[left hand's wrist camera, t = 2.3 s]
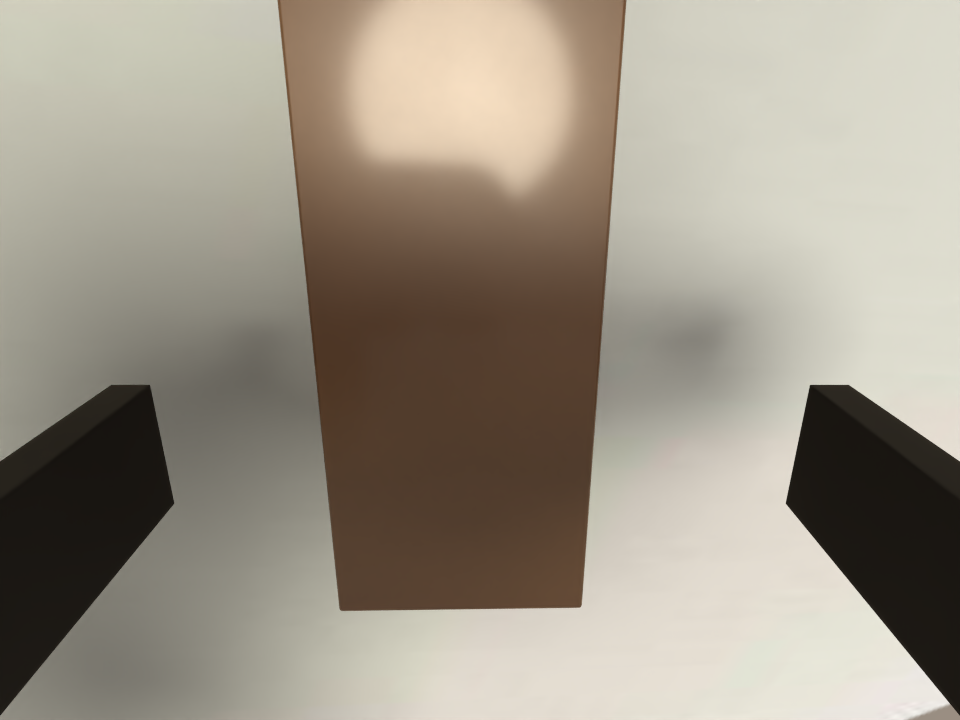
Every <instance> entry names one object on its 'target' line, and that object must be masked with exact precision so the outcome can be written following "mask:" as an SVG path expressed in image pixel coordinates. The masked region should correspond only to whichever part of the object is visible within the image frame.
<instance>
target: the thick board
mask: <svg viewBox="0 0 960 720" xmlns="http://www.w3.org/2000/svg"><path fill="white" fill-rule="evenodd" d="M278 9H279V19H280V29H281V39H282V49H283V58H284V68H285V78H286V88H287V98H288V108H289V117H290V127H291V137H292V147H293V157H294V166H295V176H296V186H297V196H298V206H299V216H300V225H301V235H302V245H303V255H304V265H305V274H306V284H307V294H308V304H309V314H310V323H311V333H312V343H313V353H314V363H315V373H316V382H317V392H318V402H319V412H320V422H321V431H322V441H323V451H324V461H325V471H326V481H327V490H328V500H329V510H330V520H331V530H332V539H333V549H334V559H335V569H336V579H337V589H338V598H339V608H340V610H341V611H366V610H440V609H513V608H579V607H581V605H582V594H583V580H584V567H585V553H586V540H587V526H588V513H589V499H590V486H591V472H592V459H593V445H594V431H595V418H596V404H597V391H598V377H599V364H600V350H601V337H602V323H603V310H604V296H605V283H606V269H607V256H608V242H609V229H610V215H611V202H612V188H613V174H614V161H615V147H616V134H617V120H618V107H619V93H620V80H621V66H622V53H623V39H624V26H625V12H626V0H278Z"/></svg>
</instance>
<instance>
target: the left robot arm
mask: <svg viewBox="0 0 960 720" xmlns="http://www.w3.org/2000/svg"><path fill="white" fill-rule="evenodd" d="M173 504H174V500H173V495H172V490H171V485H170V481H169V476H168V471H167V466H166V461H165V456H164V451H163V446H162V442H161V437H160V432H159V427H158V422H157V417H156V412H155V407H154V403H153V398H152V393H151V388H150V385H111V386H109V387H108V388H106V389H105V390H103V391H102V392H100V393H99V394H98V395H96V396H95V397H93V398H92V399H90V400H89V401H87V402H86V403H85V404H83V405H82V406H80V407H79V408H77V409H76V410H74V411H73V412H71V413H70V414H69V415H67V416H66V417H64V418H63V419H61V420H60V421H58V422H57V423H55V424H54V425H53V426H51V427H50V428H48V429H47V430H45V431H44V432H42V433H41V434H40V435H38V436H37V437H35V438H34V439H32V440H31V441H29V442H28V443H26V444H25V445H24V446H22V447H21V448H19V449H18V450H16V451H15V452H13V453H12V454H10V455H9V456H8V457H6V458H5V459H3V460H2V461H0V715H1V714H2V713H3V711H4V710H5V709H6V708H7V707H8V705H9V704H10V703H11V702H12V700H13V699H14V698H15V697H16V696H17V694H18V693H19V692H20V691H21V689H22V688H23V687H24V686H25V685H26V683H27V682H28V681H29V680H30V679H31V677H32V676H33V675H34V674H35V672H36V671H37V670H38V669H39V668H40V666H41V665H42V664H43V663H44V661H45V660H46V659H47V658H48V657H49V655H50V654H51V653H52V652H53V650H54V649H55V648H56V647H57V646H58V644H59V643H60V642H61V641H62V640H63V638H64V637H65V636H66V635H67V633H68V632H69V631H70V630H71V629H72V627H73V626H74V625H75V624H76V622H77V621H78V620H79V619H80V618H81V616H82V615H83V614H84V613H85V612H86V610H87V609H88V608H89V607H90V605H91V604H92V603H93V602H94V601H95V599H96V598H97V597H98V596H99V594H100V593H101V592H102V591H103V590H104V588H105V587H106V586H107V585H108V584H109V582H110V581H111V580H112V579H113V577H114V576H115V575H116V574H117V573H118V571H119V570H120V569H121V568H122V566H123V565H124V564H125V563H126V562H127V560H128V559H129V558H130V557H131V555H132V554H133V553H134V552H135V551H136V549H137V548H138V547H139V546H140V545H141V543H142V542H143V541H144V540H145V538H146V537H147V536H148V535H149V534H150V532H151V531H152V530H153V529H154V527H155V526H156V525H157V524H158V523H159V521H160V520H161V519H162V518H163V517H164V515H165V514H166V513H167V512H168V510H169V509H170V508H171V507H172V506H173ZM786 504H787V506H788V507H789V508H790V509H791V510H792V512H793V513H794V514H795V515H796V517H797V518H798V519H799V520H800V521H801V523H802V524H803V525H804V526H805V527H806V529H807V530H808V531H809V532H810V534H811V535H812V536H813V537H814V538H815V540H816V541H817V542H818V543H819V545H820V546H821V547H822V548H823V549H824V551H825V552H826V553H827V554H828V555H829V557H830V558H831V559H832V560H833V562H834V563H835V564H836V565H837V566H838V568H839V569H840V570H841V571H842V573H843V574H844V575H845V576H846V577H847V579H848V580H849V581H850V582H851V584H852V585H853V586H854V587H855V588H856V590H857V591H858V592H859V593H860V594H861V596H862V597H863V598H864V599H865V601H866V602H867V603H868V604H869V605H870V607H871V608H872V609H873V610H874V612H875V613H876V614H877V615H878V616H879V618H880V619H881V620H882V621H883V622H884V624H885V625H886V626H887V627H888V629H889V630H890V631H891V632H892V633H893V635H894V636H895V637H896V638H897V640H898V641H899V642H900V643H901V644H902V646H903V647H904V648H905V649H906V650H907V652H908V653H909V654H910V655H911V657H912V658H913V659H914V660H915V661H916V663H917V664H918V665H919V666H920V668H921V669H922V670H923V671H924V672H925V674H926V675H927V676H928V677H929V679H930V680H931V681H932V682H933V683H934V685H935V686H936V687H937V688H938V689H939V691H940V692H941V693H942V694H943V696H944V697H945V698H946V699H947V700H948V702H949V703H950V704H951V705H952V706H953V708H954V709H955V710H956V711H957V713H958V714H959V715H960V461H958V460H957V459H955V458H954V457H952V456H951V455H950V454H948V453H947V452H945V451H944V450H942V449H941V448H939V447H938V446H936V445H935V444H934V443H932V442H931V441H929V440H928V439H926V438H925V437H923V436H922V435H920V434H919V433H918V432H916V431H915V430H913V429H912V428H910V427H909V426H907V425H906V424H905V423H903V422H902V421H900V420H899V419H897V418H896V417H894V416H893V415H891V414H890V413H889V412H887V411H886V410H884V409H883V408H881V407H880V406H878V405H877V404H875V403H874V402H873V401H871V400H870V399H868V398H867V397H865V396H864V395H862V394H861V393H860V392H858V391H857V390H855V389H854V388H852V387H851V386H849V385H810V388H809V393H808V398H807V403H806V407H805V412H804V417H803V422H802V427H801V432H800V437H799V442H798V446H797V451H796V456H795V461H794V466H793V471H792V476H791V481H790V485H789V490H788V495H787V500H786Z"/></svg>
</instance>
